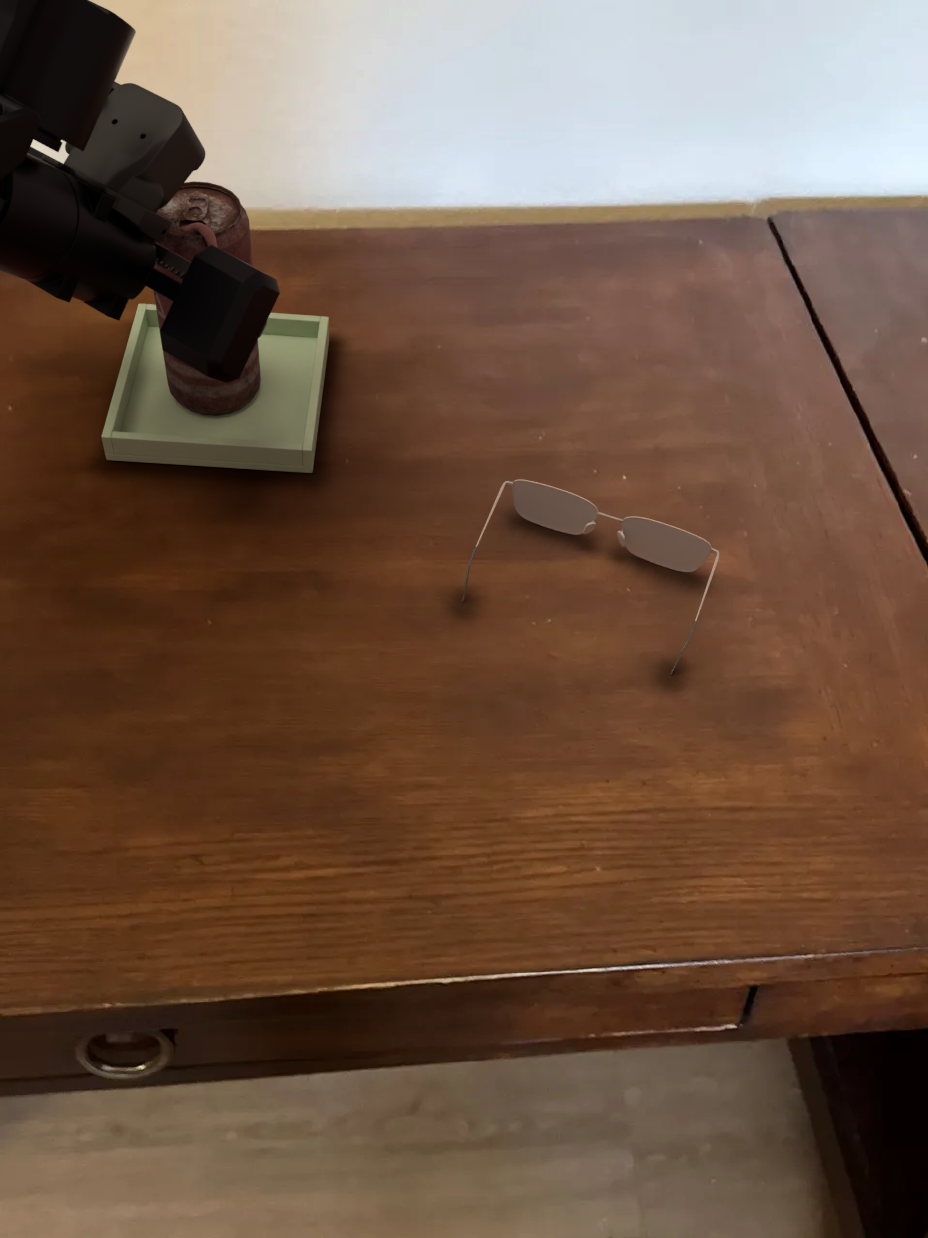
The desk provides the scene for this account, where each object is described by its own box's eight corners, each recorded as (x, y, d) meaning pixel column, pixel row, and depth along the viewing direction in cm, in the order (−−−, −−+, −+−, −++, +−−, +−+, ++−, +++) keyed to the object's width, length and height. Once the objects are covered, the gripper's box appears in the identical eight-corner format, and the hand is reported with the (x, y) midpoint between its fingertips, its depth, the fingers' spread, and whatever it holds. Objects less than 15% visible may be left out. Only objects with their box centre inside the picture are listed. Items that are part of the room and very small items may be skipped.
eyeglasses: (710, 580, 76) (724, 541, 72) (675, 683, 71) (689, 647, 68) (500, 510, 78) (505, 469, 74) (455, 606, 74) (458, 567, 70)
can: (197, 433, 79) (173, 252, 68) (153, 376, 82) (123, 194, 71) (279, 401, 81) (268, 221, 70) (233, 346, 84) (216, 165, 73)
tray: (106, 460, 78) (101, 436, 76) (142, 326, 86) (138, 302, 84) (312, 473, 79) (311, 450, 77) (329, 339, 87) (329, 316, 85)
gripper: (244, 139, 56) (384, 237, 71) (-34, 0, 62) (149, 117, 76) (143, 357, 58) (299, 408, 73) (-117, 203, 64) (77, 279, 78)
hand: (205, 296), depth 75 cm, fingers open, 9 cm apart
